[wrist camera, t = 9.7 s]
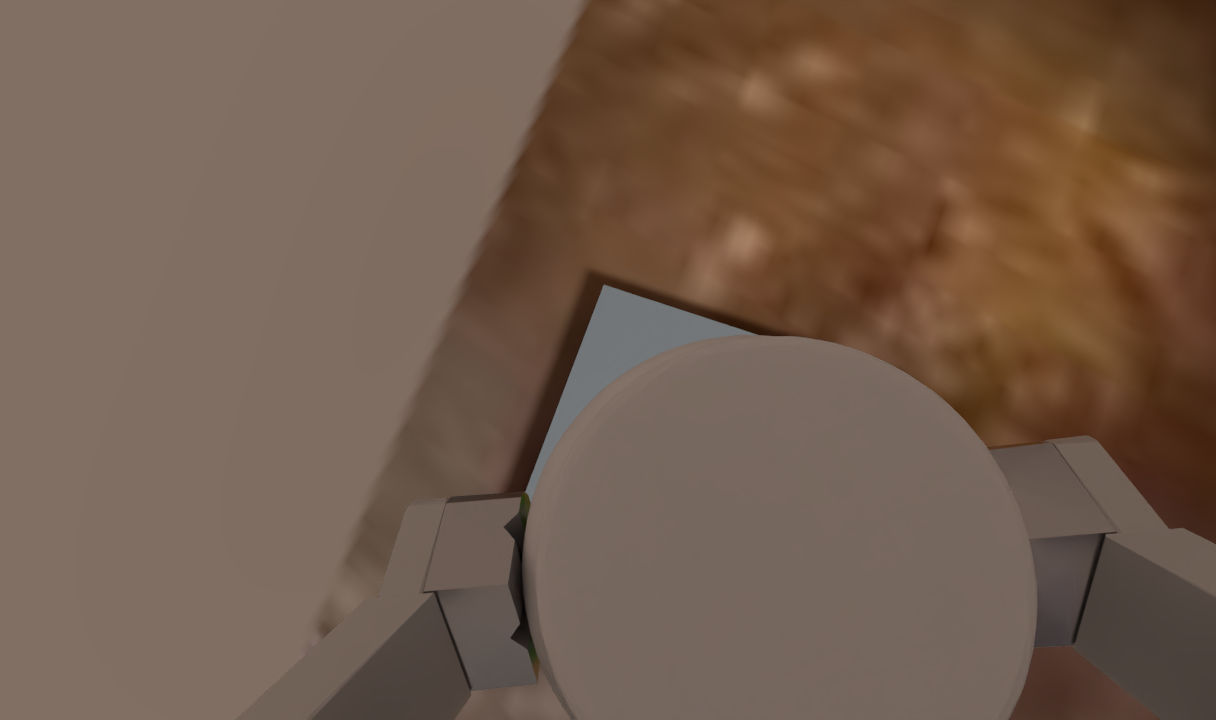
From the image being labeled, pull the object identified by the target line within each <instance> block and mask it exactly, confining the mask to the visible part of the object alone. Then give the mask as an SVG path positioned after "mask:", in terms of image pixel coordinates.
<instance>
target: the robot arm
mask: <svg viewBox="0 0 1216 720" xmlns="http://www.w3.org/2000/svg"><path fill="white" fill-rule="evenodd" d="M987 448H988V450H989V451H990V453H991V455H992V456H993V458H994V460H995V461H996V463H997V465H998V466H999V468H1000V470H1001V471H1002V473H1003V474H1004V476H1005V478H1006V480H1007V482H1008V484H1009V486H1010V488H1011V491H1012V493H1013V495H1014V497H1015V499H1016V501H1017V504H1018V506H1019V509H1020V512H1021V516H1022V519H1023V522H1024V525H1025V528H1026V531H1027V534H1028V537H1029V541H1030V546H1031V550H1032V556H1033V562H1034V568H1035V574H1036V580H1037V602H1038V606H1037V622H1036V632H1035V641H1034V647H1052V646H1073V645H1074V650H1075V651H1077V652H1078V653H1079V654H1080V655H1082V656H1083V657H1084V658H1085V659H1087V660H1088V661H1089V662H1090V663H1092V664H1093V665H1094V666H1095V667H1097V668H1098V669H1099V670H1100V671H1102V672H1103V673H1104V674H1105V675H1106V676H1108V677H1109V678H1110V679H1111V680H1113V681H1114V682H1115V683H1116V684H1118V685H1119V686H1120V687H1121V688H1123V689H1124V690H1125V691H1126V692H1128V693H1129V694H1130V695H1131V696H1133V697H1134V698H1135V699H1136V700H1138V701H1139V702H1140V703H1141V704H1143V705H1144V706H1145V707H1146V708H1147V709H1149V710H1150V711H1151V712H1152V713H1154V714H1155V715H1156V716H1157V717H1159V718H1160V719H1161V720H1216V544H1214V543H1212V542H1210V541H1208V540H1206V539H1204V538H1202V537H1200V536H1198V535H1196V534H1194V533H1192V532H1190V531H1188V530H1186V529H1184V528H1178V529H1169V528H1168V527H1167V526H1166V524H1165V523H1164V522H1163V521H1162V519H1161V518H1160V517H1159V516H1158V515H1157V513H1156V512H1155V511H1154V510H1153V508H1152V507H1151V506H1150V505H1149V504H1148V502H1147V501H1146V500H1145V499H1144V497H1143V496H1142V495H1141V494H1140V492H1139V491H1138V490H1137V489H1136V488H1135V486H1134V485H1133V484H1132V483H1131V481H1130V480H1129V479H1128V478H1127V477H1126V475H1125V474H1124V473H1123V472H1122V470H1121V469H1120V468H1119V467H1118V466H1117V464H1116V463H1115V462H1114V461H1113V459H1112V458H1111V457H1110V456H1109V454H1108V453H1107V452H1106V451H1105V450H1104V448H1103V447H1102V446H1101V445H1100V443H1099V442H1098V441H1097V440H1096V439H1094V438H1092V437H1090V436H1079V437H1070V438H1061V439H1053V440H1045V441H1044V442H1031V443H1021V444H1011V445H1002V446H992V447H987ZM530 505H531V503H530V499H529V496H528V494H527V493H525V492H511V493H497V494H483V495H469V496H455V497H451V498H438V499H424V500H413V502H412V503H411V504H410V505H409V506H408V507H407V509H406V511H405V514H404V518H403V521H402V524H401V527H400V530H399V533H398V536H397V540H396V543H395V546H394V549H393V552H392V555H391V558H390V561H389V565H388V568H387V571H386V574H385V577H384V580H383V583H382V586H381V590H380V593H379V596H378V597H376V598H367V599H366V600H364V601H363V602H362V603H361V604H360V605H359V606H358V607H357V608H356V609H355V610H354V611H353V612H351V613H350V614H349V615H348V616H347V617H346V618H345V619H344V620H343V621H342V622H341V623H340V624H338V625H337V626H336V627H335V628H334V629H333V630H332V631H331V632H330V633H329V634H328V635H327V636H325V637H324V638H323V639H322V640H321V641H320V642H319V643H318V644H317V645H316V646H315V647H314V648H312V649H311V650H310V651H309V652H308V653H307V654H306V655H305V656H304V657H303V658H302V659H301V660H299V661H298V662H297V663H296V664H295V665H294V666H293V667H292V668H291V669H290V670H289V671H288V672H286V673H285V674H284V675H283V676H282V677H281V678H280V679H279V680H278V681H277V682H276V683H275V684H274V685H272V686H271V687H270V688H269V689H268V690H267V691H266V692H265V693H264V694H263V695H262V696H261V697H259V698H258V699H257V700H256V701H255V702H254V703H253V704H252V705H251V706H250V707H249V708H248V709H246V710H245V711H244V712H243V713H242V714H241V715H240V716H239V717H238V718H237V719H236V720H454V719H455V718H456V716H457V715H458V713H459V712H460V711H461V709H462V708H463V706H464V705H465V704H466V702H467V701H468V699H469V698H470V697H471V692H470V691H476V690H485V689H495V688H504V687H514V686H524V685H533V684H538V674H539V664H540V661H539V658H538V656H537V653H536V649H535V646H534V643H533V639H532V636H531V633H530V628H529V624H528V619H527V614H526V609H525V602H524V596H523V581H522V554H523V544H524V537H525V530H526V524H527V518H528V514H529V509H530Z"/></svg>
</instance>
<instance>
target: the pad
mask: <svg viewBox="0 0 1216 720" xmlns="http://www.w3.org/2000/svg"><path fill="white" fill-rule="evenodd" d="M733 335H757V334H754V333H751V332H748V331H744V330H741V329H738V328H735V327H732V326H729V325H726V324H723V323H720V322H717V321H714V320H711V319H708V318H705V317H702V316H698V315H695V314H692V313H689V312H686V311H683V310H680V309H677V308H674V307H671V306H668V305H665V304H662V303H659V302H656V301H653V300H649V299H646V298H643V297H640V296H637V295H634V294H631V293H628V292H625V291H622V290H619V289H616V288H613V287H610V286H607V285H603V288H602V291H601V293H600V296H599V299H598V301H597V304H596V307H595V309H594V312H593V315H592V317H591V320H590V322H589V325H588V328H587V330H586V333H585V336H584V338H583V341H582V344H581V346H580V349H579V351H578V354H577V357H576V359H575V362H574V365H573V367H572V370H571V373H570V375H569V378H568V381H567V383H566V386H565V388H564V391H563V394H562V396H561V399H560V402H559V404H558V407H557V410H556V412H555V415H554V417H553V420H552V423H551V425H550V428H549V431H548V433H547V436H546V439H545V441H544V444H543V447H542V449H541V452H540V454H539V457H538V460H537V462H536V465H535V468H534V470H533V473H532V476H531V478H530V481H529V483H528V486H527V489H526V491H525V493H527V494H528V496H529V499H530V503H531V501H532V498H533V495H534V492H535V489H536V486H537V483H538V480H539V478H540V476H541V473H542V471H543V469H544V466H545V464H546V462H547V460H548V458H549V456H550V455H551V453H552V451H553V449H554V447H555V446H556V444H557V443H558V441H559V440H560V438H561V436H562V435H563V433H564V432H565V431H566V430H567V428H568V427H569V426H570V425H571V423H572V422H573V421H574V419H575V418H576V417H577V416H578V415H579V414H580V412H581V411H582V410H583V409H584V408H585V407H586V406H587V404H588V403H589V402H590V401H591V400H592V399H593V398H594V397H595V396H596V395H597V394H598V393H599V392H601V391H602V390H603V389H604V388H605V387H606V386H607V385H609V384H610V383H611V382H613V381H614V380H616V379H617V378H618V377H620V376H621V375H622V374H624V373H625V372H627V371H628V370H630V369H631V368H633V367H635V366H636V365H638V364H640V363H642V362H643V361H645V360H647V359H649V358H651V357H654V356H656V355H658V354H660V353H662V352H664V351H667V350H670V349H673V348H676V347H679V346H682V345H685V344H689V343H692V342H695V341H700V340H705V339H710V338H718V337H725V336H733Z"/></svg>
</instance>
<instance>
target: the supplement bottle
mask: <svg viewBox="0 0 1216 720" xmlns="http://www.w3.org/2000/svg"><path fill="white" fill-rule="evenodd" d="M522 581H523V596H524V602H525V609H526V614H527V619H528V624H529V628H530V633H531V636H532V639H533V643H534V646H535V649H536V653H537V656H538V658H539V661H540V663H541V666H542V668H543V670H544V673H545V675H546V677H547V680H548V681H549V683H550V685H551V687H552V689H553V691H554V693H555V694H556V696H557V698H558V700H559V701H560V703H561V705H562V706H563V708H564V709H565V711H566V712H567V714H568V715H569V716H570V718H571V719H572V720H1009V718H1010V716H1011V714H1012V712H1013V710H1014V708H1015V706H1016V704H1017V702H1018V699H1019V697H1020V694H1021V692H1022V690H1023V687H1024V685H1025V682H1026V677H1027V673H1028V669H1029V665H1030V661H1031V657H1032V653H1033V649H1034V641H1035V632H1036V622H1037V606H1038V602H1037V580H1036V574H1035V568H1034V562H1033V556H1032V550H1031V546H1030V541H1029V537H1028V534H1027V531H1026V528H1025V525H1024V522H1023V519H1022V516H1021V512H1020V509H1019V506H1018V504H1017V501H1016V499H1015V497H1014V495H1013V493H1012V491H1011V488H1010V486H1009V484H1008V482H1007V480H1006V478H1005V476H1004V474H1003V473H1002V471H1001V470H1000V468H999V466H998V465H997V463H996V461H995V460H994V458H993V456H992V455H991V453H990V451H989V450H988V448H987V447H986V445H985V444H984V443H983V442H982V441H981V439H980V438H979V437H978V436H977V435H976V433H975V432H974V431H973V430H972V428H971V427H970V426H969V425H968V424H967V422H966V421H965V420H964V419H963V418H962V417H961V416H960V415H959V414H958V413H957V412H956V411H955V410H954V409H953V408H952V407H951V406H950V405H949V404H948V403H946V402H945V401H944V400H943V399H942V398H941V397H940V396H939V395H937V394H936V393H935V392H934V391H932V390H931V389H929V388H928V387H926V386H925V385H923V384H922V383H920V382H919V381H917V380H916V379H914V378H913V377H911V376H910V375H908V374H907V373H905V372H903V371H902V370H900V369H898V368H896V367H894V366H892V365H891V364H889V363H887V362H885V361H883V360H880V359H878V358H876V357H874V356H871V355H869V354H867V353H864V352H862V351H859V350H856V349H853V348H850V347H846V346H843V345H840V344H836V343H832V342H827V341H822V340H816V339H811V338H804V337H796V336H764V335H733V336H725V337H718V338H710V339H705V340H700V341H695V342H692V343H689V344H685V345H682V346H679V347H676V348H673V349H670V350H667V351H664V352H662V353H660V354H658V355H656V356H654V357H651V358H649V359H647V360H645V361H643V362H642V363H640V364H638V365H636V366H635V367H633V368H631V369H630V370H628V371H627V372H625V373H624V374H622V375H621V376H620V377H618V378H617V379H616V380H614V381H613V382H611V383H610V384H609V385H607V386H606V387H605V388H604V389H603V390H602V391H601V392H599V393H598V394H597V395H596V396H595V397H594V398H593V399H592V400H591V401H590V402H589V403H588V404H587V406H586V407H585V408H584V409H583V410H582V411H581V412H580V414H579V415H578V416H577V417H576V418H575V419H574V421H573V422H572V423H571V425H570V426H569V427H568V428H567V430H566V431H565V432H564V433H563V435H562V436H561V438H560V440H559V441H558V443H557V444H556V446H555V447H554V449H553V451H552V453H551V455H550V456H549V458H548V460H547V462H546V464H545V466H544V469H543V471H542V473H541V476H540V478H539V480H538V483H537V486H536V489H535V492H534V495H533V498H532V501H531V505H530V509H529V514H528V518H527V524H526V530H525V537H524V544H523V554H522Z"/></svg>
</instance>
